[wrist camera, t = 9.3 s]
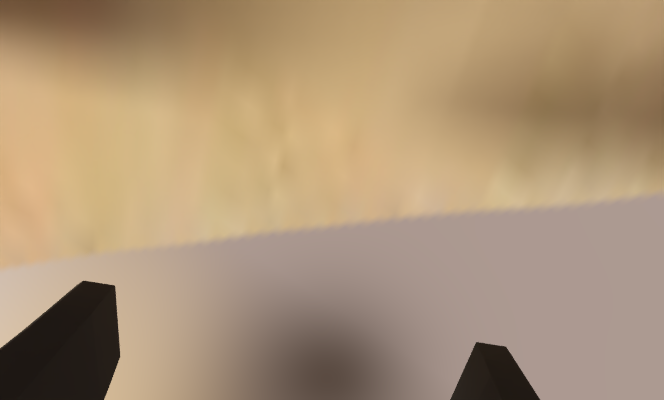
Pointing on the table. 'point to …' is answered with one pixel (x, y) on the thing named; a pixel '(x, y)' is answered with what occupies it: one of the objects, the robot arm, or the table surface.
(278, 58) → the table surface
